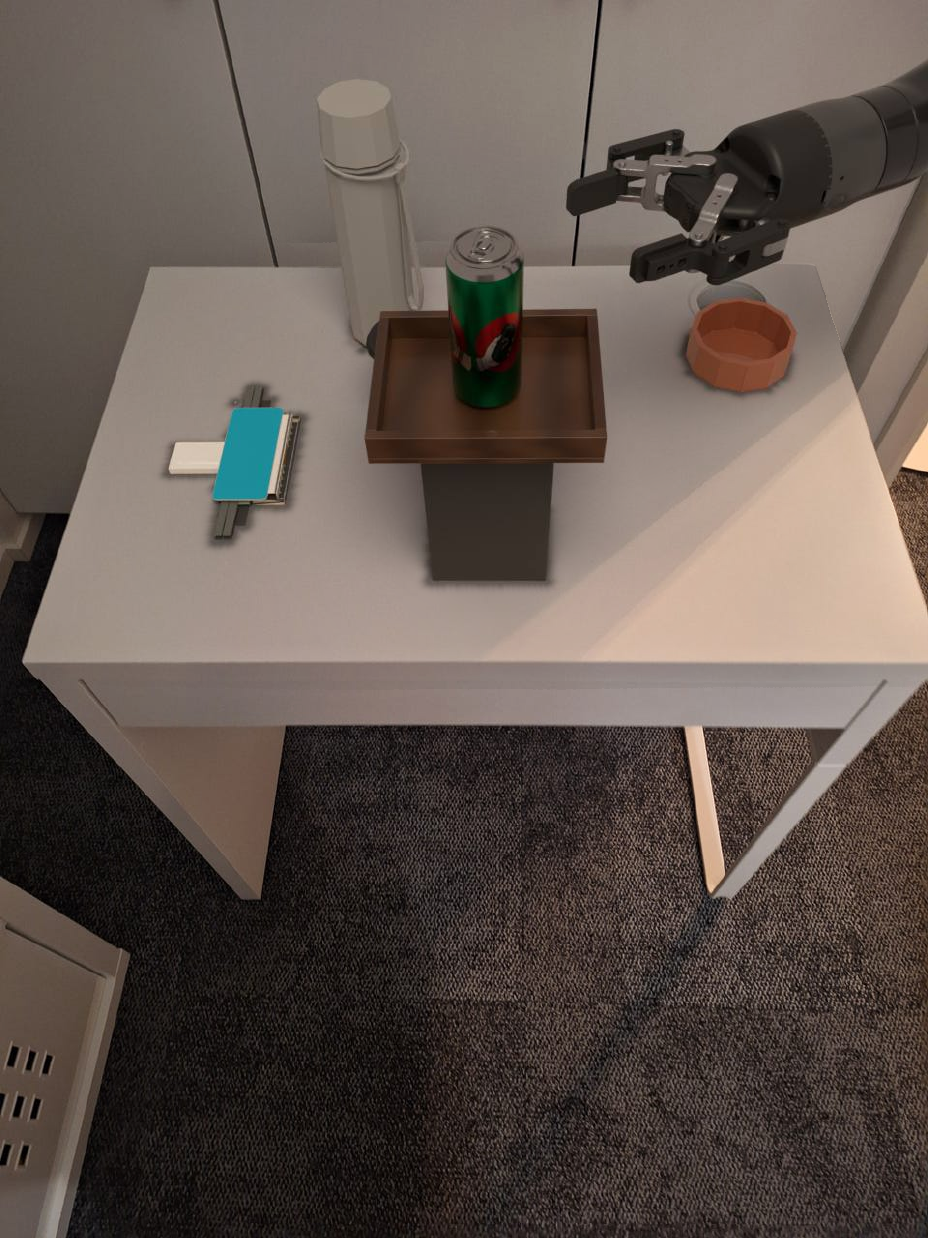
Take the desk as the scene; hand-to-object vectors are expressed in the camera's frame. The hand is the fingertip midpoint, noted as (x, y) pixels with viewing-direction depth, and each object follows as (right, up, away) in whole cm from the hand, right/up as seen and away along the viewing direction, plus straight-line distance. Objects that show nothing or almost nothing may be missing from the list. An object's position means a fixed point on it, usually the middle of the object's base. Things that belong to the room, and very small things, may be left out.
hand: (600, 233), depth 61 cm
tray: (-7, -9, +7) cm, 14 cm away
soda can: (-7, -9, +7) cm, 13 cm away
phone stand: (-32, -10, +29) cm, 44 cm away
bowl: (+19, +2, +35) cm, 40 cm away
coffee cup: (-14, -5, +32) cm, 35 cm away
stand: (-7, -19, +22) cm, 30 cm away
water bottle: (-17, +5, +39) cm, 43 cm away
